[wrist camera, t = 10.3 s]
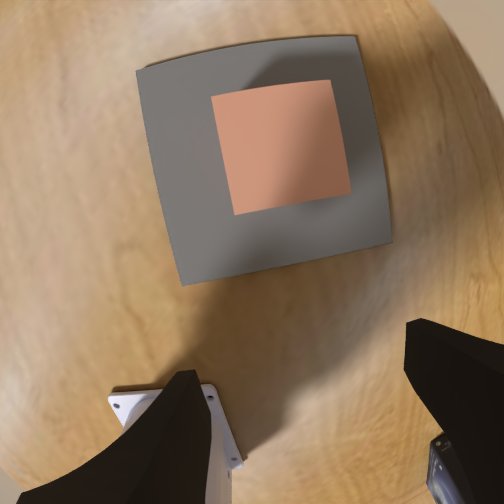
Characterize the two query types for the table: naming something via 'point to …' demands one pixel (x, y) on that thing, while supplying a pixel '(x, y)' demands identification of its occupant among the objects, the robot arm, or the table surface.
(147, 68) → the mat
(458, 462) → the small box
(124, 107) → the table surface
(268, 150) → the cube
